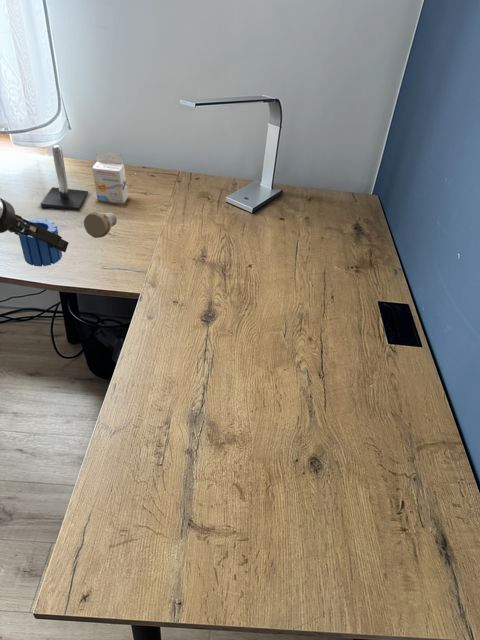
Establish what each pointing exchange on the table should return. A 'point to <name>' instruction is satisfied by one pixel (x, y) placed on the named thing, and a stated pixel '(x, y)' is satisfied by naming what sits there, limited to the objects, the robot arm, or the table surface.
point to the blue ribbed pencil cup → (40, 246)
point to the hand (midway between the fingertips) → (49, 241)
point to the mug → (99, 223)
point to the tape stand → (62, 188)
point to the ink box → (110, 178)
